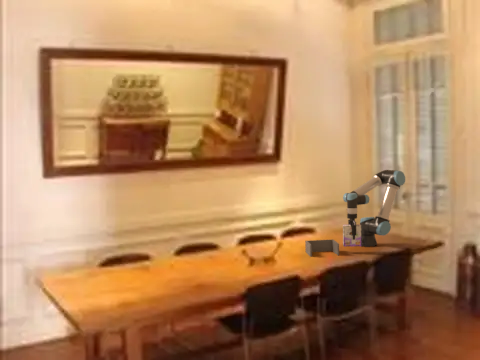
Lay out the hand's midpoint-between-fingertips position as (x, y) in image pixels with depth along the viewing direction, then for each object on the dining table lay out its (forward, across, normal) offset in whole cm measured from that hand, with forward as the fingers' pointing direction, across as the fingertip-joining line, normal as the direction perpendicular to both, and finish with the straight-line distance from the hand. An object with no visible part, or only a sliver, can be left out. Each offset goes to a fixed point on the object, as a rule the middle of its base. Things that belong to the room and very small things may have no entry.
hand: (352, 242), depth 475 cm
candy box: (+3, 0, 0) cm, 3 cm away
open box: (+8, -2, -23) cm, 25 cm away
